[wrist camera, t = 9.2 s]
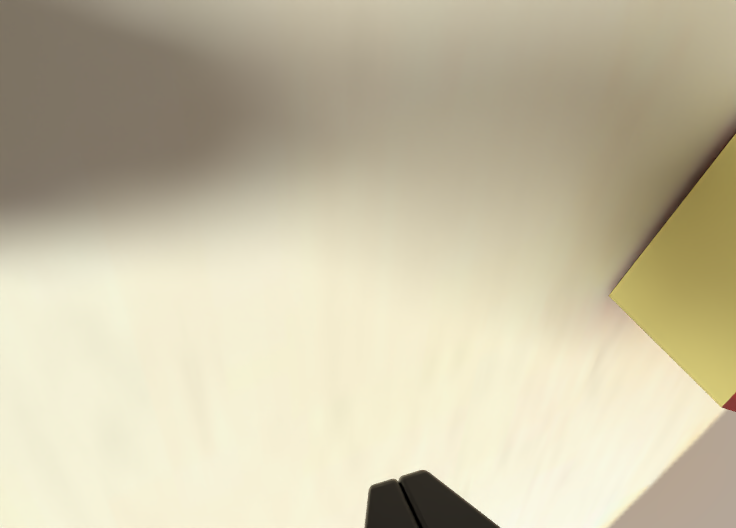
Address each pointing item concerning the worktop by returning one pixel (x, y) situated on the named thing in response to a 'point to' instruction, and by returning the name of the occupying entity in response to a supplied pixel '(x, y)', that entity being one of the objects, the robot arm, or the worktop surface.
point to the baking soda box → (693, 283)
